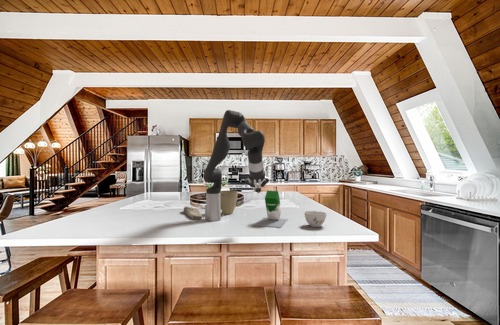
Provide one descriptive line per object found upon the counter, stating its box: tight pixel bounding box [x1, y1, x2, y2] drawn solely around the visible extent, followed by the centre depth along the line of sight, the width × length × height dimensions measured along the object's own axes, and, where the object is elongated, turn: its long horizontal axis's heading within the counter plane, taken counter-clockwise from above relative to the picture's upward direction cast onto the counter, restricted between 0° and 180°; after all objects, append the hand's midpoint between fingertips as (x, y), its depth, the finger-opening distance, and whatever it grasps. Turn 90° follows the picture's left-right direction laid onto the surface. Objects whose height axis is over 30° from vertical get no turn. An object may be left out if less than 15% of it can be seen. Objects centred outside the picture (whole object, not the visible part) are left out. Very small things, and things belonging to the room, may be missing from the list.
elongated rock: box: [183, 205, 203, 221], centre depth 186 cm, size 35×5×10 cm
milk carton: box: [264, 190, 282, 220], centre depth 166 cm, size 9×9×20 cm
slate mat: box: [254, 217, 288, 229], centre depth 163 cm, size 16×22×1 cm
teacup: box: [303, 210, 327, 228], centre depth 155 cm, size 15×12×8 cm
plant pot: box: [221, 190, 239, 215], centre depth 192 cm, size 15×15×16 cm
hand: (258, 191), depth 143 cm, fingers closed
